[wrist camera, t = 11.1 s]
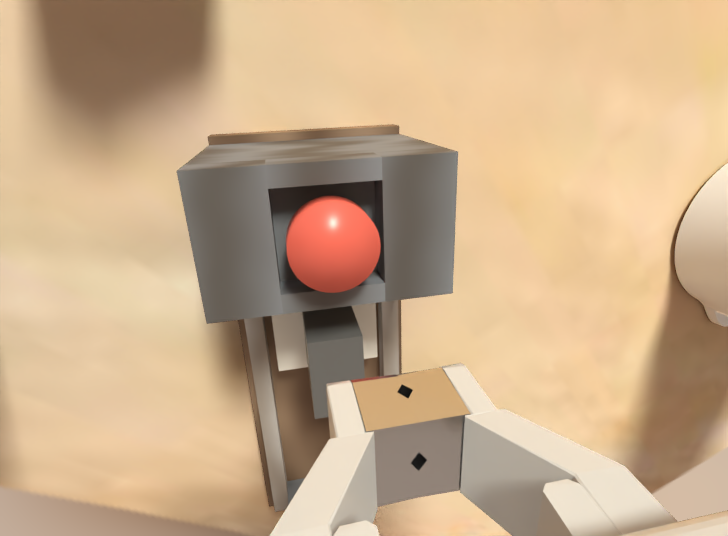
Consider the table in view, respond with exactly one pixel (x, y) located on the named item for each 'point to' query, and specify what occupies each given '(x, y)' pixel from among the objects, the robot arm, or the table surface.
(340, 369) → the carriage
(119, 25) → the table surface
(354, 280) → the button
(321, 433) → the track
